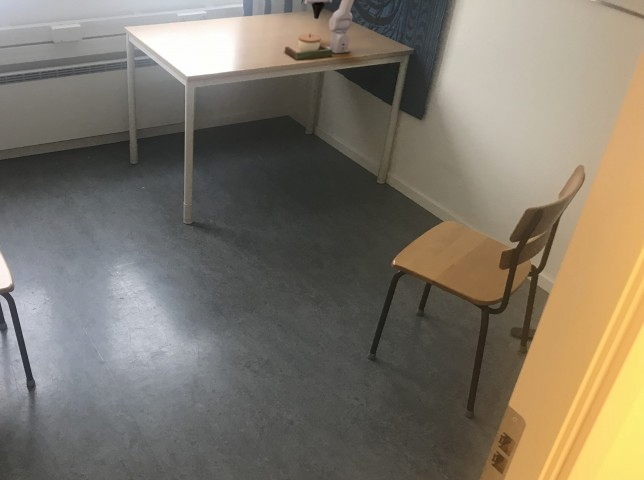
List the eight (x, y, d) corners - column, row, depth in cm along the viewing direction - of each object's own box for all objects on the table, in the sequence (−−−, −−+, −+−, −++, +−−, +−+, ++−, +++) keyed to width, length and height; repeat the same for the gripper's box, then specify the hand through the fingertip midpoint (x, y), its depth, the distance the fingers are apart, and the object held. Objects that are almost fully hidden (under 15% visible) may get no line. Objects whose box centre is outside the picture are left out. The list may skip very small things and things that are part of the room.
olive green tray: (331, 56, 338) (332, 49, 336) (296, 59, 332) (297, 53, 330) (319, 48, 347) (319, 42, 345) (284, 52, 341) (285, 45, 340)
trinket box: (304, 49, 346) (306, 29, 340) (323, 53, 340) (325, 33, 335) (292, 54, 339) (294, 34, 333) (311, 58, 334) (314, 38, 328)
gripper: (328, -14, 350) (325, 15, 359) (302, -12, 346) (299, 17, 355) (335, -11, 345) (331, 18, 354) (309, -9, 341) (306, 20, 350)
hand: (316, 18), depth 354 cm, fingers closed
